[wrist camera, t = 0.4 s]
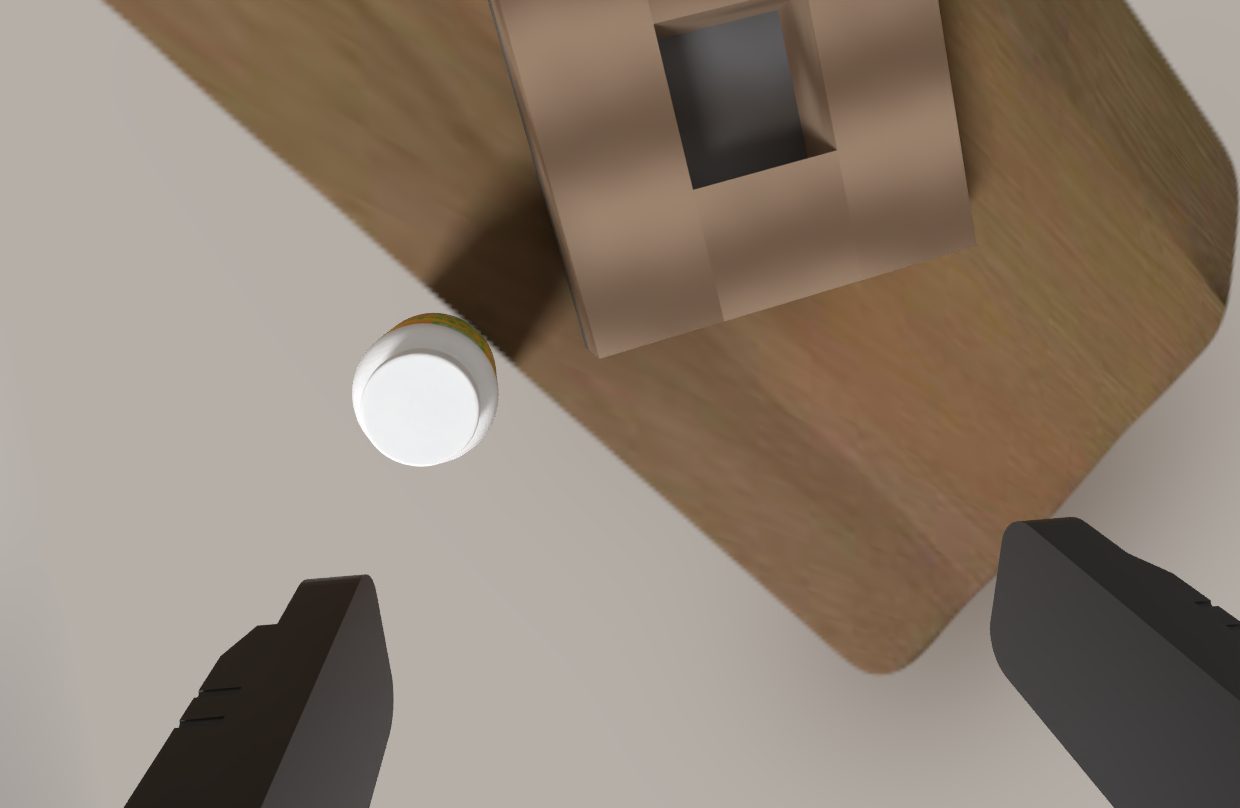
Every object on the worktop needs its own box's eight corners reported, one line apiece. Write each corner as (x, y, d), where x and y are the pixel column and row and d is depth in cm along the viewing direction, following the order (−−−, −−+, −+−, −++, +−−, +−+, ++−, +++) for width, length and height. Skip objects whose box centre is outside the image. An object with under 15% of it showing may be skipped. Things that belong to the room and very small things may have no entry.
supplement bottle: (502, 320, 35) (510, 342, 26) (488, 432, 36) (491, 493, 27) (381, 304, 34) (344, 321, 25) (370, 420, 35) (330, 479, 26)
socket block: (471, -59, 32) (470, -102, 28) (858, -146, 34) (907, -197, 30) (586, 348, 36) (599, 358, 32) (926, 247, 38) (976, 245, 34)
